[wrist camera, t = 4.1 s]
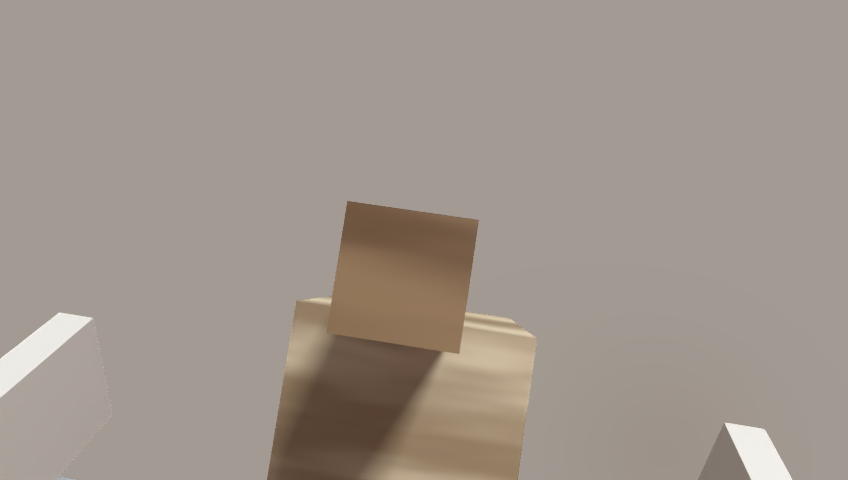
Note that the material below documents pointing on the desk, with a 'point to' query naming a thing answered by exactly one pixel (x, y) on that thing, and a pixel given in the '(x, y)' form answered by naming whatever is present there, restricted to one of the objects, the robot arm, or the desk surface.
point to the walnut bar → (403, 277)
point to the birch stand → (402, 404)
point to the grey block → (63, 479)
